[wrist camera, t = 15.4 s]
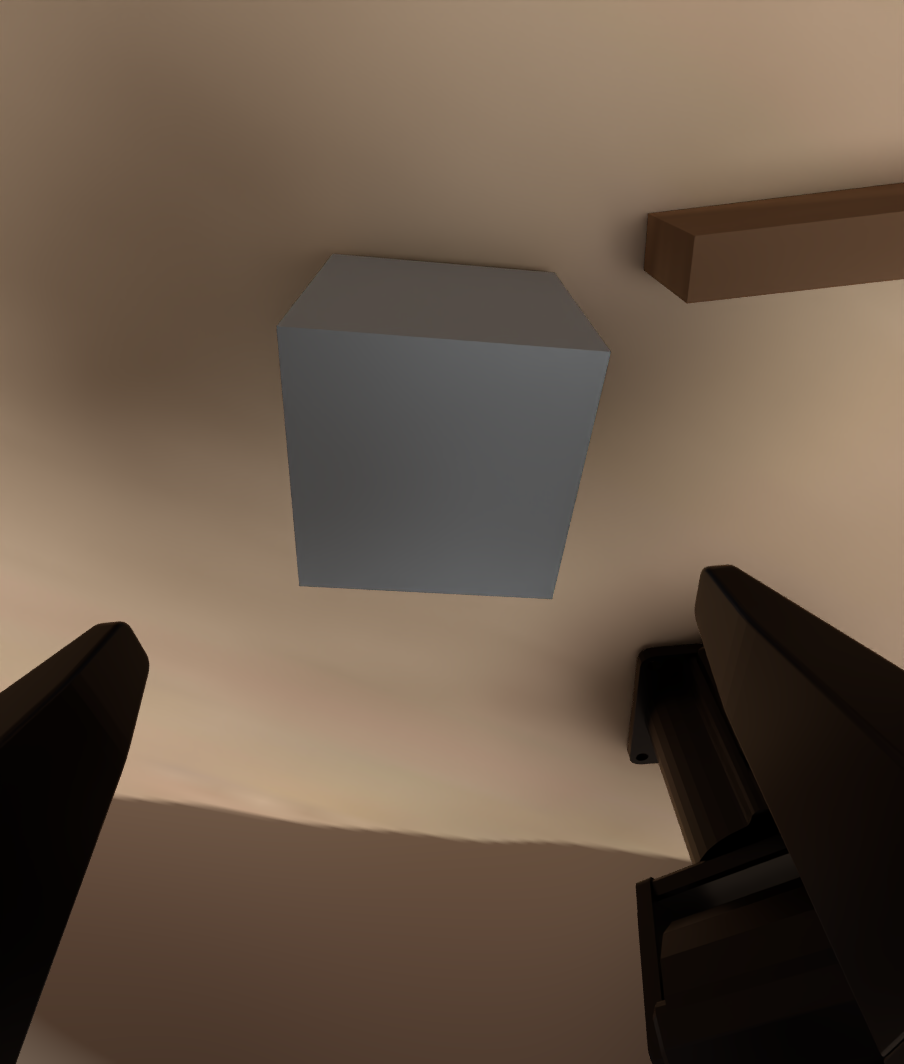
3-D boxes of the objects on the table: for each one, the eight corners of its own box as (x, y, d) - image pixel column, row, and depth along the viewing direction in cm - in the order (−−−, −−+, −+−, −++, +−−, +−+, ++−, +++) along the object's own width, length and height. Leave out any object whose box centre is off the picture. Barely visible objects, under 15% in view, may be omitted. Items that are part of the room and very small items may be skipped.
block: (521, 465, 16) (552, 598, 12) (339, 453, 16) (299, 585, 12) (554, 272, 13) (611, 351, 9) (332, 253, 13) (276, 325, 9)
